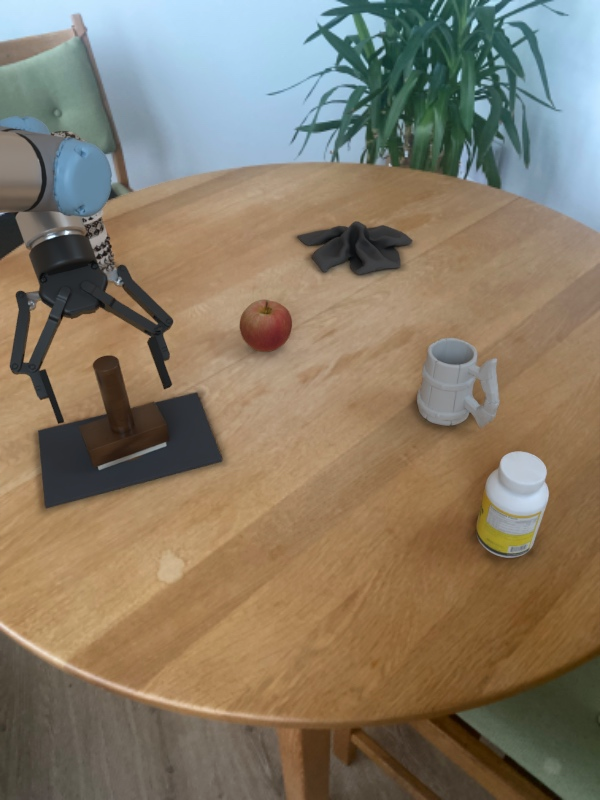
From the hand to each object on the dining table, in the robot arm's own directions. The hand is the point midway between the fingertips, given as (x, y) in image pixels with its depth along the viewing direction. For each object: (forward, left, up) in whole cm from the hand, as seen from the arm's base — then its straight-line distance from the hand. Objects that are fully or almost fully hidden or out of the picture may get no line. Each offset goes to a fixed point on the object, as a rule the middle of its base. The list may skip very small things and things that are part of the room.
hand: (116, 404), depth 84 cm
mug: (+43, -10, -8) cm, 45 cm away
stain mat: (0, 0, -8) cm, 8 cm away
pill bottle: (+38, -30, -8) cm, 49 cm away
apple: (+24, +15, -8) cm, 30 cm away
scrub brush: (0, -1, -7) cm, 7 cm away
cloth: (+48, +38, -8) cm, 62 cm away
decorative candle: (+1, +47, -8) cm, 48 cm away
